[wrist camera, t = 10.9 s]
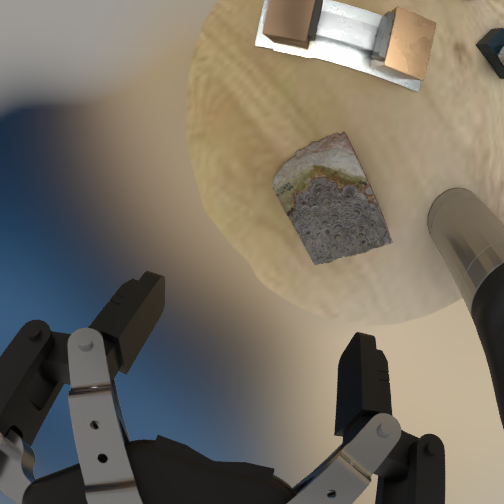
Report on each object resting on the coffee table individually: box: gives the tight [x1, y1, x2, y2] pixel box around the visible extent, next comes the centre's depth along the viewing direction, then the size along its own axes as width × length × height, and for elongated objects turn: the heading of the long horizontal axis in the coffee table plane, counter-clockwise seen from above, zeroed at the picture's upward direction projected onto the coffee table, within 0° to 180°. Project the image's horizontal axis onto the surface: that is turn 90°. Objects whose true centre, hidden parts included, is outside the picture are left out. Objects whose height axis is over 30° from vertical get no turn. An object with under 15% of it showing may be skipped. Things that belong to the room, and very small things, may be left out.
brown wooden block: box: [262, 0, 323, 50], centre depth 24 cm, size 5×6×8 cm
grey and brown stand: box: [255, 0, 436, 92], centre depth 24 cm, size 20×8×9 cm, turn 79°
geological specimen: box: [272, 132, 392, 265], centre depth 37 cm, size 11×6×15 cm
